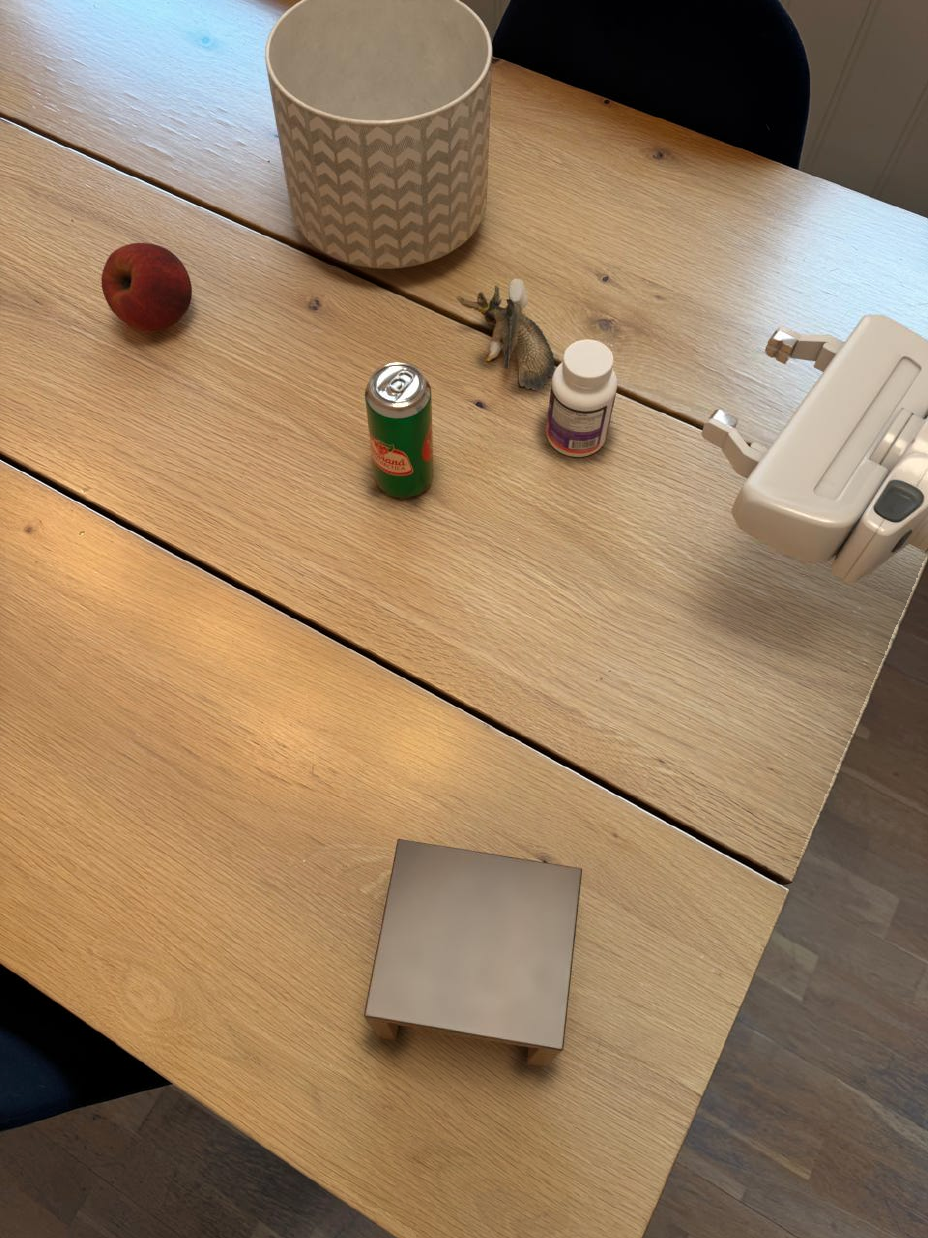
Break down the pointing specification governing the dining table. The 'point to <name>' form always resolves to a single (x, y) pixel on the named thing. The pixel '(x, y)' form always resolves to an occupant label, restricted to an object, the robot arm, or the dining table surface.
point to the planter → (383, 125)
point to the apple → (146, 286)
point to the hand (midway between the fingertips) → (740, 379)
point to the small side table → (476, 948)
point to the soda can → (400, 429)
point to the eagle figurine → (516, 335)
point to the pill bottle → (581, 399)
